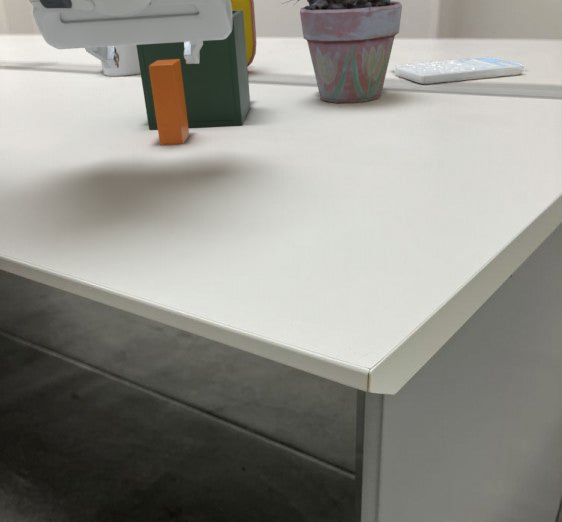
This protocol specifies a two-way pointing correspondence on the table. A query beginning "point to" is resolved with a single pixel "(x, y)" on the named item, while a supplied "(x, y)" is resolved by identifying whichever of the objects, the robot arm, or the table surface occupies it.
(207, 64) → the trash can
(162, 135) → the orange rectangular block
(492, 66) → the calculator
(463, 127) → the table surface
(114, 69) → the mug
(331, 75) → the potted plant
